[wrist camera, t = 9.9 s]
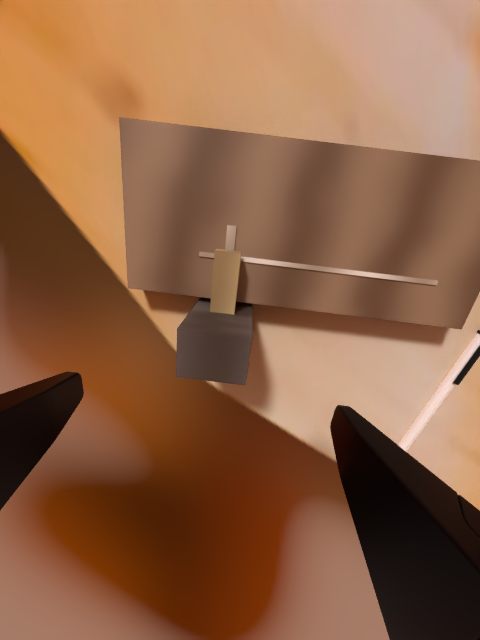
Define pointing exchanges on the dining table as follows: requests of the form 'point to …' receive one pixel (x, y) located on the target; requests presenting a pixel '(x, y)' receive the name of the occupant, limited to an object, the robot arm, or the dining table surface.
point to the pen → (443, 390)
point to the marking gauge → (217, 329)
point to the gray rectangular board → (302, 222)
